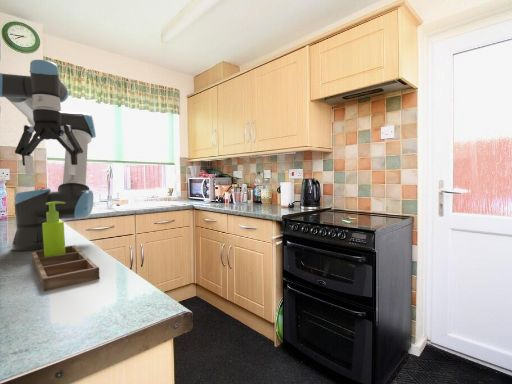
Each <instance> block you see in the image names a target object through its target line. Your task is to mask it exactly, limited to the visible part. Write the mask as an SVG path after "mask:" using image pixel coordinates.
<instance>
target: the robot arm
mask: <svg viewBox="0 0 512 384" xmlns="http://www.w3.org/2000/svg"><path fill="white" fill-rule="evenodd" d="M58 67H59V66H58V65H57V64H56V63H55V62H52V61H49V60H46V59H32V60H31V61H30V62H29V73H30V75H22V74H21V75H20V74H11V73H2V72H0V98H5V99H6V100H8V102H10V103H11V104H12V105H13V106H14V107H15V108H16V109H17V110H18V111H20V112H21V114H22V115H23V116H25V117H26V119H27V121H28V123H29V124H30V125H27V124H25V125H23V132H22V134H21V137H20V140H19V141H18V144H17V146H16V149H14V153H15V154H16V155H19V156H21V158H22V159H21V160H22V162H21V163H22V165H23V166H24V170H25V177H34V176H35V171H34V157H33V156H32V153H33V152H34V150H35V149H36V148H37V147H39V146H38V145H40V144H41V142H43V141H44V140H45V141H46V140H56V141H57V142H59V144H60V145H61V146H62V147H63V148H64V150H65V155H64V163H63V164H64V165H63V166H64V167H63V176H62V178H63V179H62V183H60V184H59V185H58V186H57V191H52V190H51V189H50V188H48V187H47V188H41V189H35V190H34V189H33V190H27V191H20V192H17V193H16V194H15V196H14V208H15V209H14V211H15V212H14V213H15V223H16V232H15V235H14V237H13V241H12V244H11V246H12V247H11V248H12V250H13V251H17V252H22V251H23V252H25V251H34V250H36V251H38V250H44V243H43V228H42V223H45V222H47V217H46V212H48V211H49V205H46V203H48V202H54V201H59V202H66V203H65V204H64V203H58V204H55V211H58V212H59V220H70V219H76V220H77V219H82V218H83V219H84V218H88V217H89V216H90V215H91V213H92V211H93V206H94V192H93V191H92V190H90V187H89V186H88V185H87V169H88V167H87V164H88V150H89V149H88V148H89V147H88V145H89V144H90V143H91V142H92V139H94V138H96V130H95V123H94V119H93V116H92V114H90V113H87V112H70V111H67V112H66V111H62V107H61V103H64V102H65V101H67V99H68V97H69V90H68V88H67V85H66V84H65V83H64V82H63V81H62V80H61V79H60V71H59V68H58Z"/></svg>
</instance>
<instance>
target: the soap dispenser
mask: <svg viewBox="0 0 512 384" xmlns="http://www.w3.org/2000/svg"><path fill="white" fill-rule="evenodd" d="M58 203H64V204H65V203H66V202H59V201H54V202H48V203H46V205H49V211H48V212H46V217H47V222H45V223H42V228H43V243H44V248H43V250H44V257H49V256H55V255H61V254H66V252H65V247H66V239H65V223H64V221H62V220H60V219H59V212H58V211H55V204H58Z"/></svg>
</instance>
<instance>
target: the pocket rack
mask: <svg viewBox="0 0 512 384" xmlns="http://www.w3.org/2000/svg"><path fill="white" fill-rule="evenodd" d="M65 252H66V254H61V255H55V256H49V257H44V249H40V250H36V251H34V250H33V251H31V261H32V263H33V265H34V269H35V272H36V274H37V276H38V279H39V281H40V284H41V287H42V290H43V292H46V291H51V290H55V289H59V288H63V287H68V285H69V286H72V284H73V285H77V284H81V282H82V283H86V282H89V281H94V280H99V279H101V278H100V267H99V266H98V265H97V264H95V262H93V261H92V260H91V259H90V258H89V257H88V256H87V255H86V254H85V253H84V252H82V251H81V249H79V248H78V247H77V246H76V245H75V244H74V245H68V246H65ZM76 283H77V284H76Z"/></svg>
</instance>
